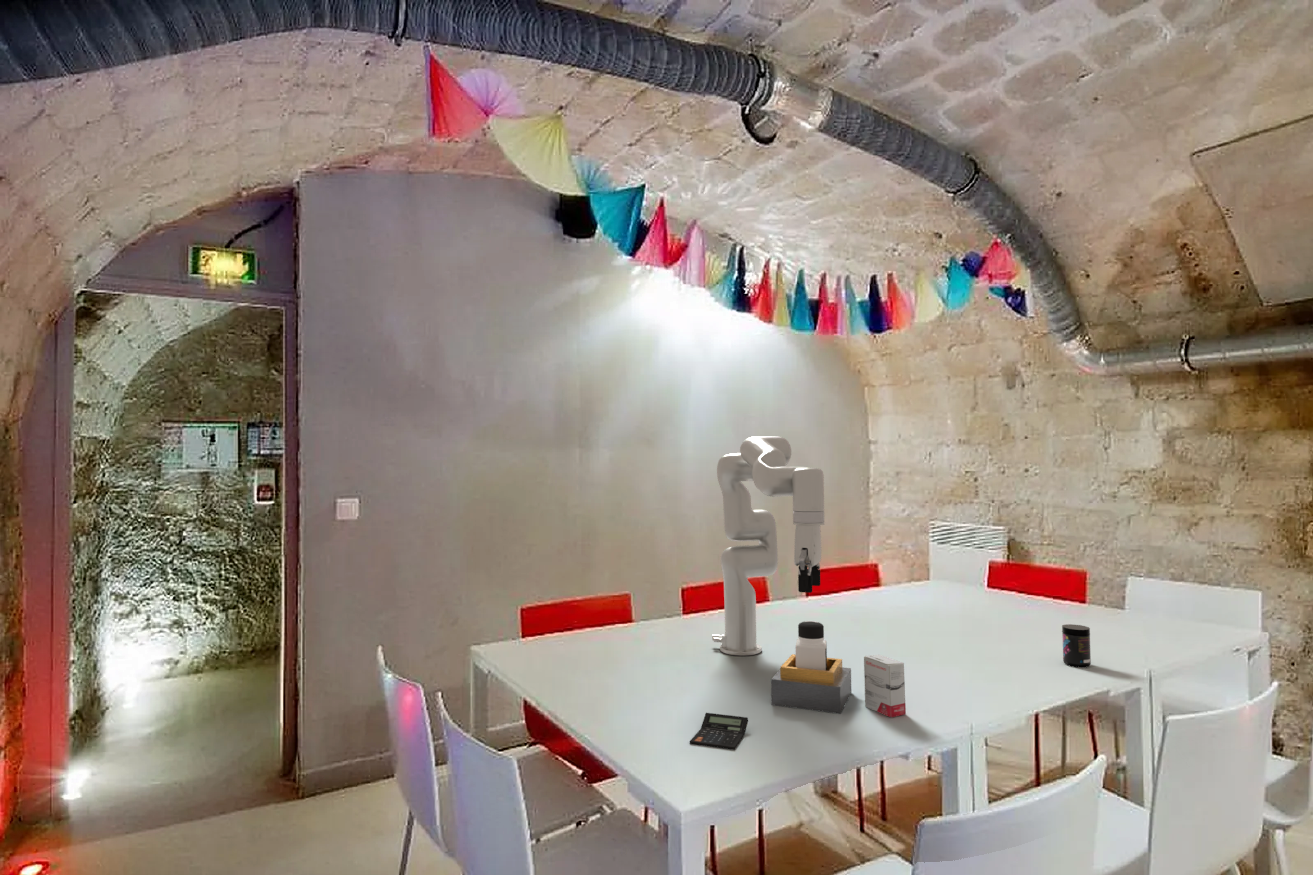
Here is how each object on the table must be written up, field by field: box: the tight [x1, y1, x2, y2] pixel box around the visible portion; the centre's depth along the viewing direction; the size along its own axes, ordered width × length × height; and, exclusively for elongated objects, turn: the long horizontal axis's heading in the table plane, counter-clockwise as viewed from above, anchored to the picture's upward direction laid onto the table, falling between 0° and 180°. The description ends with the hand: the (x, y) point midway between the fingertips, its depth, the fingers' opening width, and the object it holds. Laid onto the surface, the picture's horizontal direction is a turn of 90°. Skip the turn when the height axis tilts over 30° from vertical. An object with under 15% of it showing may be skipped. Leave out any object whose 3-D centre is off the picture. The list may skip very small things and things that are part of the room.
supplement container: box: [1061, 623, 1092, 668], centre depth 199 cm, size 7×7×10 cm
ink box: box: [863, 654, 907, 718], centre depth 164 cm, size 9×5×12 cm, turn 25°
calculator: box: [689, 712, 749, 751], centre depth 149 cm, size 9×12×3 cm
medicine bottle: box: [795, 620, 828, 671], centre depth 173 cm, size 7×7×12 cm
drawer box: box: [770, 653, 852, 715], centre depth 174 cm, size 16×18×8 cm
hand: (809, 588), depth 174 cm, fingers open, 9 cm apart
